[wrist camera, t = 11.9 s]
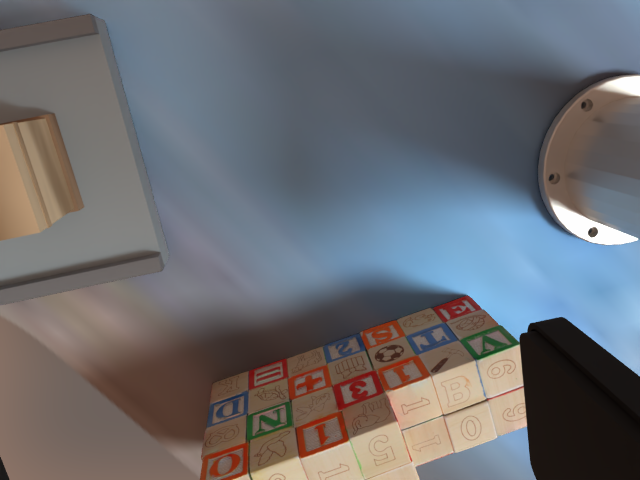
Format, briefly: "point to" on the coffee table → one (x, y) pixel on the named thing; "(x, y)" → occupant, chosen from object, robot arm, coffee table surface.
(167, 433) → the coffee table surface
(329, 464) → the stack of blocks
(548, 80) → the coffee table surface
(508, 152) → the coffee table surface
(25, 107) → the dock
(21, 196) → the pedestal
